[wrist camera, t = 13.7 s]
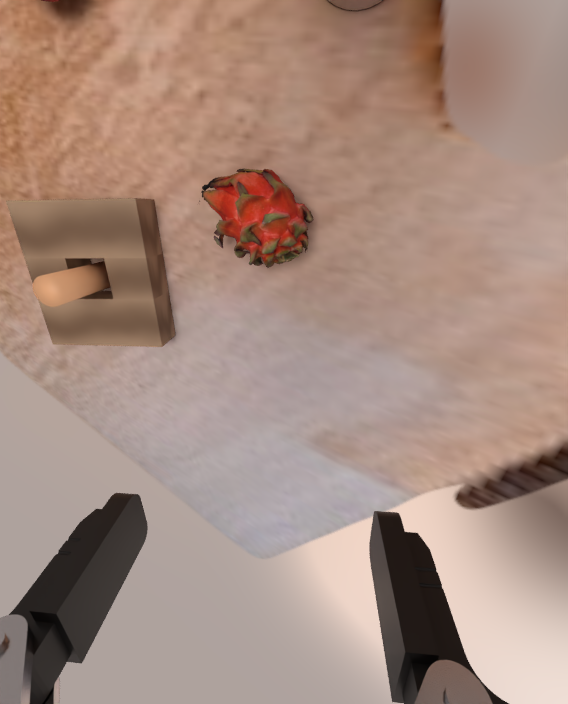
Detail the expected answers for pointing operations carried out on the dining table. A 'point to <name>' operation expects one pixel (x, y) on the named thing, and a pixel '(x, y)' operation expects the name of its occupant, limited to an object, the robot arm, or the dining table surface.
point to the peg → (71, 284)
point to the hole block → (121, 263)
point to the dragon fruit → (259, 216)
